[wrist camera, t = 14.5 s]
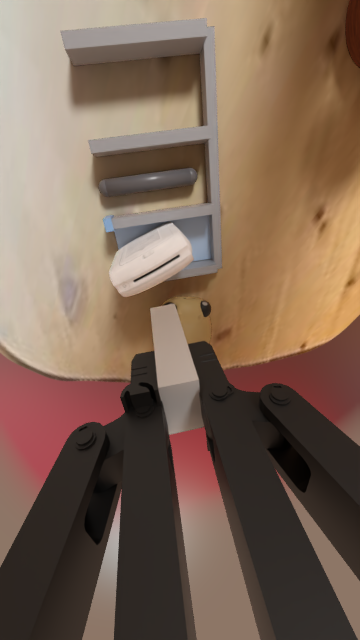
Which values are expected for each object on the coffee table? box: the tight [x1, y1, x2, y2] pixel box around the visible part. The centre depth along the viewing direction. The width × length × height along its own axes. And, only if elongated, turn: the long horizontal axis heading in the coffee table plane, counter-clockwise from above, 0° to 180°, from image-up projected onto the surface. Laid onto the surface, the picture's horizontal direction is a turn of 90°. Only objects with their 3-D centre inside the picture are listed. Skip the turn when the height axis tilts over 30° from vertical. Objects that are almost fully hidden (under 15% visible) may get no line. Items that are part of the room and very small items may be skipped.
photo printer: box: [109, 221, 194, 297], centre depth 30 cm, size 10×4×12 cm, turn 117°
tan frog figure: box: [152, 296, 212, 345], centre depth 38 cm, size 10×12×11 cm
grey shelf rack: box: [60, 18, 222, 282], centre depth 30 cm, size 26×16×4 cm, turn 7°
